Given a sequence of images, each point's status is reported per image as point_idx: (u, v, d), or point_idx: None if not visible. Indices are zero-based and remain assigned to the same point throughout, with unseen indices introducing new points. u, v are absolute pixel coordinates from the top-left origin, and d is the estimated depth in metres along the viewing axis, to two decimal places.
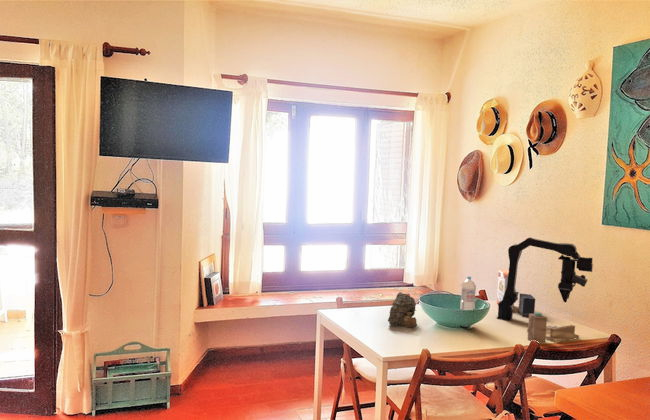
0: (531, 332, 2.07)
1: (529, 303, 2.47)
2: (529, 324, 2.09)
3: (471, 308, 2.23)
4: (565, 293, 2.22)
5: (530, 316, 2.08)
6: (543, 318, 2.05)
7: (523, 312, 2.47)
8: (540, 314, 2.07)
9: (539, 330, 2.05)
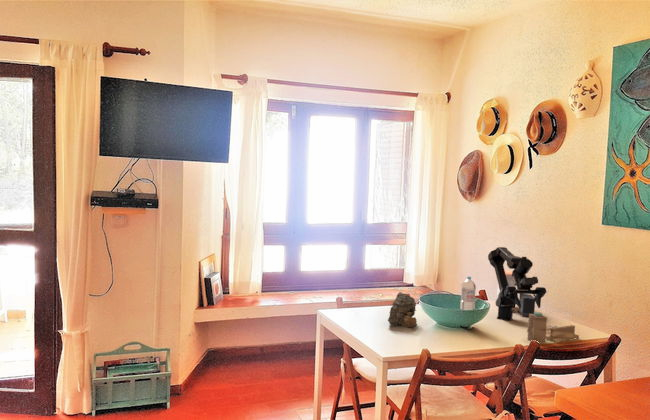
0: (531, 332, 2.07)
1: (529, 303, 2.47)
2: (529, 324, 2.09)
3: (471, 308, 2.23)
4: (515, 298, 2.18)
5: (530, 316, 2.08)
6: (543, 318, 2.05)
7: (523, 312, 2.47)
8: (540, 314, 2.07)
9: (539, 330, 2.05)
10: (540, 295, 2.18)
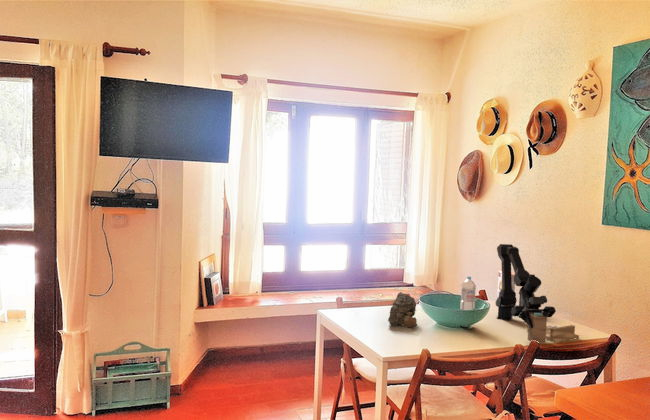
0: (531, 332, 2.07)
1: None
2: None
3: (471, 308, 2.23)
4: (526, 318, 2.09)
5: (530, 316, 2.08)
6: (543, 318, 2.05)
7: None
8: (540, 314, 2.07)
9: (539, 330, 2.05)
10: (545, 315, 2.09)
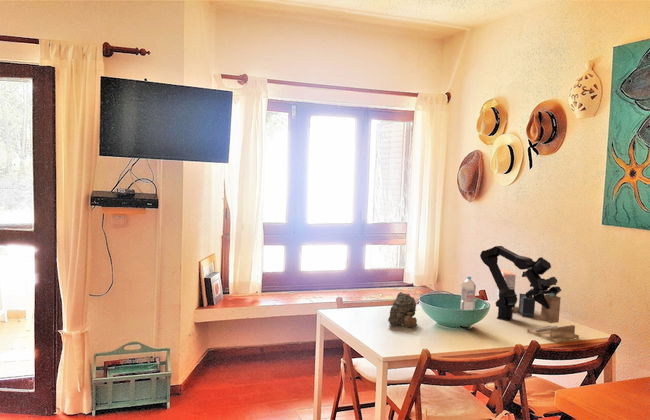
0: (547, 313, 2.16)
1: (529, 303, 2.47)
2: None
3: (471, 308, 2.23)
4: (541, 300, 2.17)
5: (545, 297, 2.17)
6: (558, 298, 2.15)
7: (523, 312, 2.47)
8: (553, 294, 2.17)
9: (554, 310, 2.15)
10: (555, 295, 2.20)
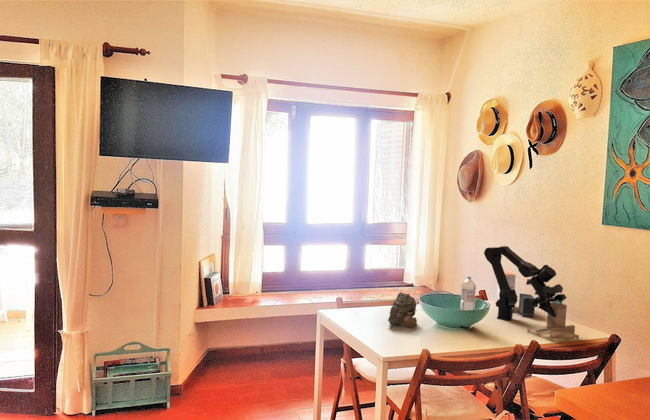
0: (553, 321, 2.14)
1: (529, 303, 2.47)
2: None
3: (471, 308, 2.23)
4: (547, 308, 2.15)
5: (551, 305, 2.15)
6: (564, 306, 2.13)
7: (523, 312, 2.47)
8: (559, 302, 2.15)
9: (561, 318, 2.13)
10: (561, 302, 2.18)
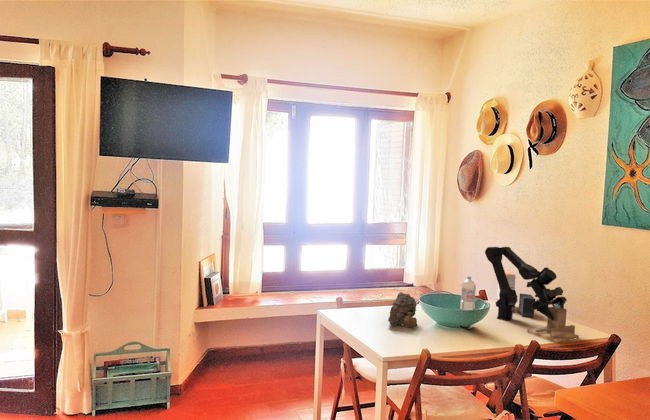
0: (553, 325, 2.14)
1: (529, 303, 2.47)
2: None
3: (471, 308, 2.23)
4: (546, 311, 2.15)
5: (551, 309, 2.15)
6: (564, 310, 2.13)
7: (523, 312, 2.47)
8: (559, 306, 2.15)
9: (561, 322, 2.13)
10: (563, 305, 2.19)
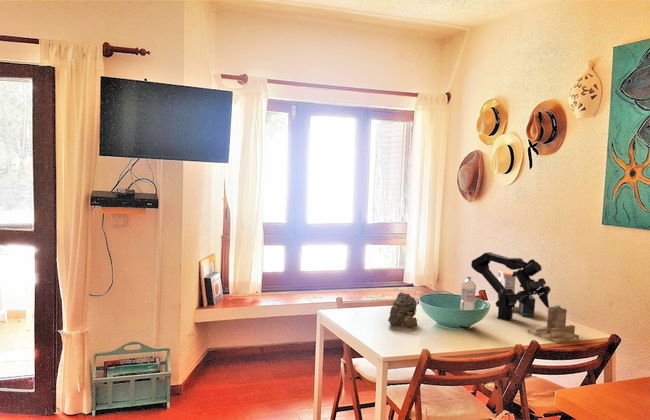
0: (553, 325, 2.14)
1: None
2: (549, 317, 2.16)
3: (471, 308, 2.23)
4: (527, 302, 2.24)
5: (551, 309, 2.15)
6: (564, 310, 2.13)
7: (523, 312, 2.47)
8: (559, 306, 2.15)
9: (561, 322, 2.13)
10: (546, 295, 2.27)
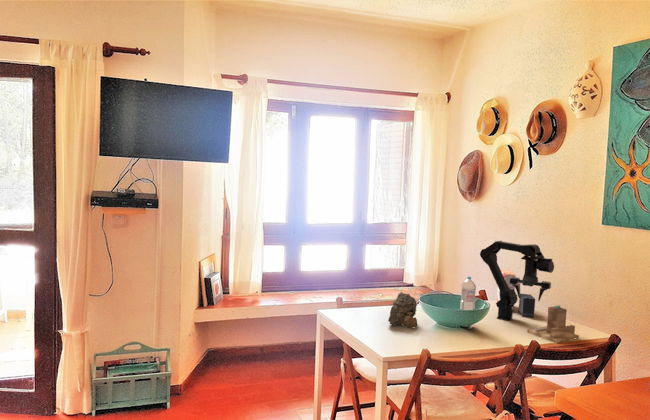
0: (553, 325, 2.14)
1: (529, 303, 2.47)
2: (549, 317, 2.16)
3: (471, 308, 2.23)
4: None
5: (551, 309, 2.15)
6: (564, 310, 2.13)
7: (523, 312, 2.47)
8: (559, 306, 2.15)
9: (561, 322, 2.13)
10: (542, 291, 2.27)
